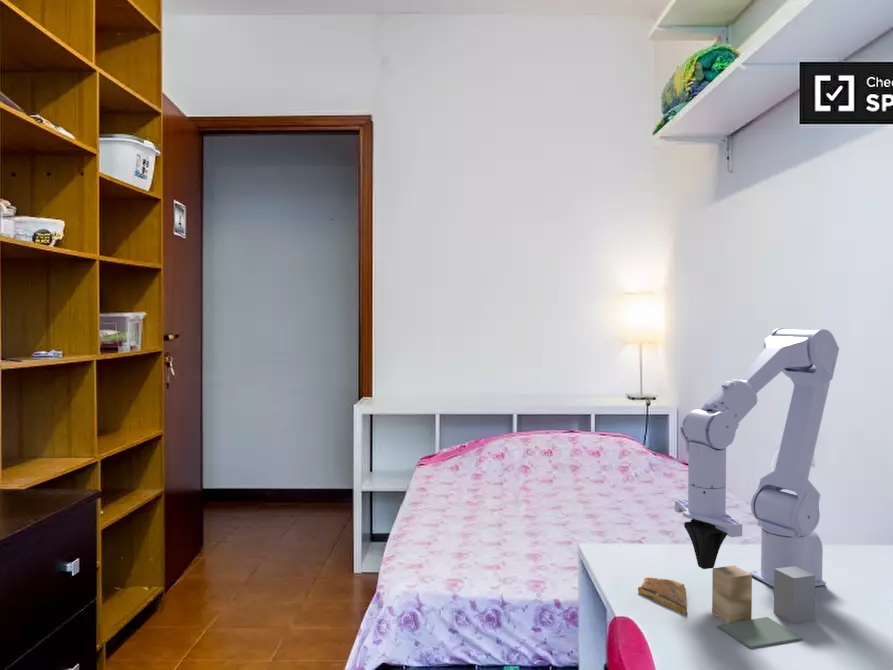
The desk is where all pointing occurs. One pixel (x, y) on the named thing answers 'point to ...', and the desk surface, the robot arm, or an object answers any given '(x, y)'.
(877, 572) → the desk surface
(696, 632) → the desk surface
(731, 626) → the mat
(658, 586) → the shard
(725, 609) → the oak block
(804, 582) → the grey block
